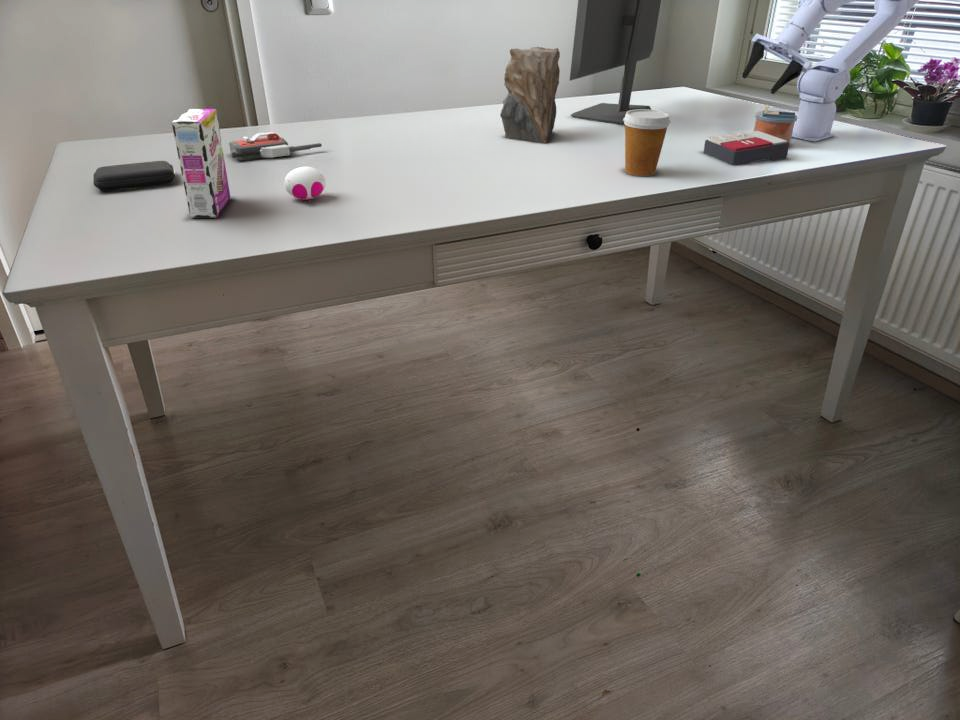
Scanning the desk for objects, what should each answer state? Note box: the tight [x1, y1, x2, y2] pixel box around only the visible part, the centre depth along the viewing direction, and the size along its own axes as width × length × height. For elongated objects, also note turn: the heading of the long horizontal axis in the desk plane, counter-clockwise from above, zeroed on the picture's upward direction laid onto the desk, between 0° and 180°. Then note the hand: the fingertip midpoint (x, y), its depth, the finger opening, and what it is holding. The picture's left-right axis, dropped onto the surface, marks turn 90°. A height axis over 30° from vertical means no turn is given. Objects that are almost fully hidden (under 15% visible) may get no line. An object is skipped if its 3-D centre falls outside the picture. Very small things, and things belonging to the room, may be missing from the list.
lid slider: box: [764, 104, 779, 114], centre depth 167 cm, size 3×3×2 cm
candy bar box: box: [171, 108, 231, 219], centre depth 123 cm, size 11×5×16 cm, turn 5°
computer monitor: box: [569, 0, 662, 126], centre depth 185 cm, size 44×16×40 cm, turn 144°
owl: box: [499, 46, 561, 144], centre depth 170 cm, size 13×13×20 cm
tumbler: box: [753, 109, 797, 146], centre depth 169 cm, size 9×9×7 cm
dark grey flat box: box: [703, 130, 791, 166], centre depth 160 cm, size 11×4×15 cm
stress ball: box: [283, 166, 327, 203], centre depth 131 cm, size 8×8×7 cm
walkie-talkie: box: [228, 131, 322, 162], centre depth 157 cm, size 9×4×20 cm
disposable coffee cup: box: [623, 109, 671, 177], centre depth 146 cm, size 10×10×12 cm
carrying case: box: [93, 160, 177, 192], centre depth 139 cm, size 11×3×15 cm
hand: (757, 84), depth 162 cm, fingers open, 7 cm apart
